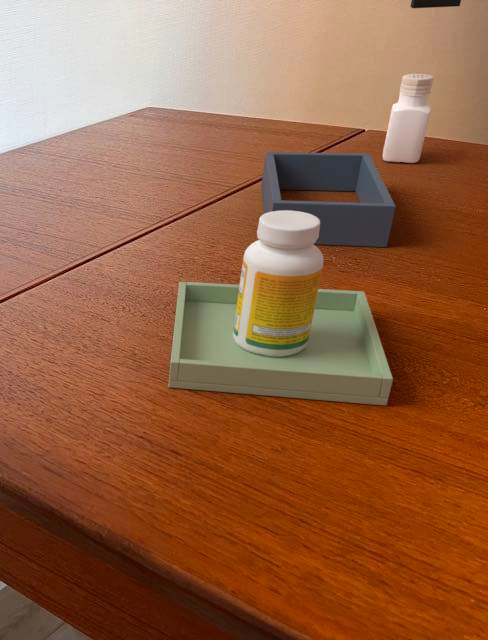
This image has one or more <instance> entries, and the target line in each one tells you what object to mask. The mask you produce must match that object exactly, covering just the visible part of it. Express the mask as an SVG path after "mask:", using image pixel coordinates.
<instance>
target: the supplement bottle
mask: <svg viewBox="0 0 488 640" xmlns="http://www.w3.org/2000/svg"><path fill="white" fill-rule="evenodd" d="M319 230H320V220H319V219H318V218H317V217H316V216H314V215H312V214H309V213H305V212H300V211H289V210H282V211H272V212H268V213H265V214H264V213H263V214H262V215H260V216H259V219H258V226H257V231H256V237H257V239H258V240H256V241H253V242H252V243H251V244H250V245H248V247H247V248H246V249H245V251H244V254H243V258H242V265H241V271H240V272H241V273H240V277H239V278H240V279H239V280H240V281H239V284H238V285H239V293H238V300H237V307H236V313H235V321H234V329H233V337H234V340H235V342H236V343H237V344H238V345H239V346H240V347H242V348H243V349H245V350H247V351H249V352H252V353H256V354H260V355H265V356H272V357H284V356H289V355H293V354H296V353H298V352H300V351H302V350H303V349H304V348H305V347H306V345H307V343H308V339H309V335H310V329H311V324H312V319H313V314H314V309H315V303H316V298H317V293H318V289H320V288H319V287H320V282H321V279H322V273H323V269H324V255H323V253H322V251H321V250H320V249H319V247H318V246H316V244H314V243H315V242H316V240H317V239H318V237H319Z"/></svg>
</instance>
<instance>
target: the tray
mask: <svg viewBox="0 0 488 640" xmlns="http://www.w3.org/2000/svg"><path fill="white" fill-rule="evenodd" d="M239 285H240V284H232V283H215V282H214V283H213V282H196V281H195V282H194V281H179V282H178V289H177V298H176V300H177V301H176V306H175V307H176V308H175V317H174V326H173V334H172V335H173V337H172V345H171V353H170V362H169V374H168V385H167V387H168V388H169V389H170V388H171V389H182V390H193V391H204V392H205V391H207V392H215V393H216V392H217V393H228V394H229V393H230V394H240V395H241V394H244V395H252V396H253V395H254V396H266V397H277V398H288V399H301V400H314V401H325V402H335V403H336V402H337V403H338V402H339V403H348V404H349V403H350V404H359V405H360V404H361V405H373V406H385V407H386V406H388V401H389V397H390V393H391V389H392V386H393V382H394V377H393V374H392V372H391V368H390V366H389V361H388V360H387V356H386V353H385V349H384V347H383V344H382V342H381V341H382V340H381V338H380V335H379V332H378V329H377V326H376V323H375V319H374V317H373V314H372V313H373V312H372V310H371V307H370V304H369V301H368V299H367V296H366V293H365V291H364V290H349V289H348V290H347V289H345V290H344V289H329V288H328V289H327V288H326V289H325V288H318V293H317V298H316V303H315V309H314V314H313V319H312V324H311V329H310V335H309V339H308V343H307V345H306V347H305V348H304V349H303V350H302V351H300V352H298V353H296V354H293V355H289V356H284V357H272V356H265V355H260V354H256V353H252V352H249V351H247V350H245V349H243V348H242V347H240V346H239V345H238V344H237V343H236V342H235V340H234V337H233V329H234V321H235V313H236V307H237V300H238V293H239Z"/></svg>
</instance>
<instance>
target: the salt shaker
mask: <svg viewBox="0 0 488 640" xmlns="http://www.w3.org/2000/svg"><path fill="white" fill-rule="evenodd" d="M433 83H434V76H433V75H432V74H427V73H408V74H403V76H401V83H400V87H399V91H398V93H399V96H398V101H397V102H395V103H393V104H392V105H391V111H390V116H389V121H388V124H387V129H386V130H387V131H386V136H385V139H384V143H383V144H384V145H383V148H382V149H383V150H382V160H383V161H384V162H388V163H400V162H401V163H402V162H403V164H415V163H417V162H419V161H420V159H421V155H422V151H423V147H424V142H425V137H426V133H427V129H428V125H429V119H430V116H431V112H432V111H431V109H432V107H431V105H430V104H428V100H429V97H430V94H431V91H432V87H433Z"/></svg>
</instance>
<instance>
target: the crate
mask: <svg viewBox="0 0 488 640" xmlns="http://www.w3.org/2000/svg"><path fill="white" fill-rule="evenodd" d="M264 155H265V156H264V162H263V171H262V178H261V185H260V188H261V189H260V190H261V198H262V206H263V214H265V213H268V212H272V211H282V210H289V211H300V212H305V213H309V214H312V215H314V216H316V217H317V218H318V219H319V220H320V230H319V237H318V239H317V240H316V242H315V243H314V244H313V245H315V246H316V245H320V246H341V247H342V246H344V247H366V248H367V247H368V248H370V247H371V248H388V243H389V239H390V234H391V231H392V225H393V221H394V217H395V212H396V208H397V207H396V204H395V202H394V200H393V198H392V196H391V194H390V192H389V190H388V188H387V186H386V184H385V182H384V180H383V178H382V176H381V174H380V173H379V170H378V169H377V166H376V164H375V161H374V160H373V159H372V157H371V154H370V153H360V152H359V153H354V152H353V153H351V152H346V153H345V152H297V151H296V152H291V151H290V152H289V151H287V152H286V151H266V152H265V154H264ZM281 190H282V191H283V190H284V191H316V192H317V191H320V192H321V191H322V192H355V194H356V196H357V198H358V201H359V202H354V201H353V202H348V201H316V200H314V201H313V200H282V194H281Z"/></svg>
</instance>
